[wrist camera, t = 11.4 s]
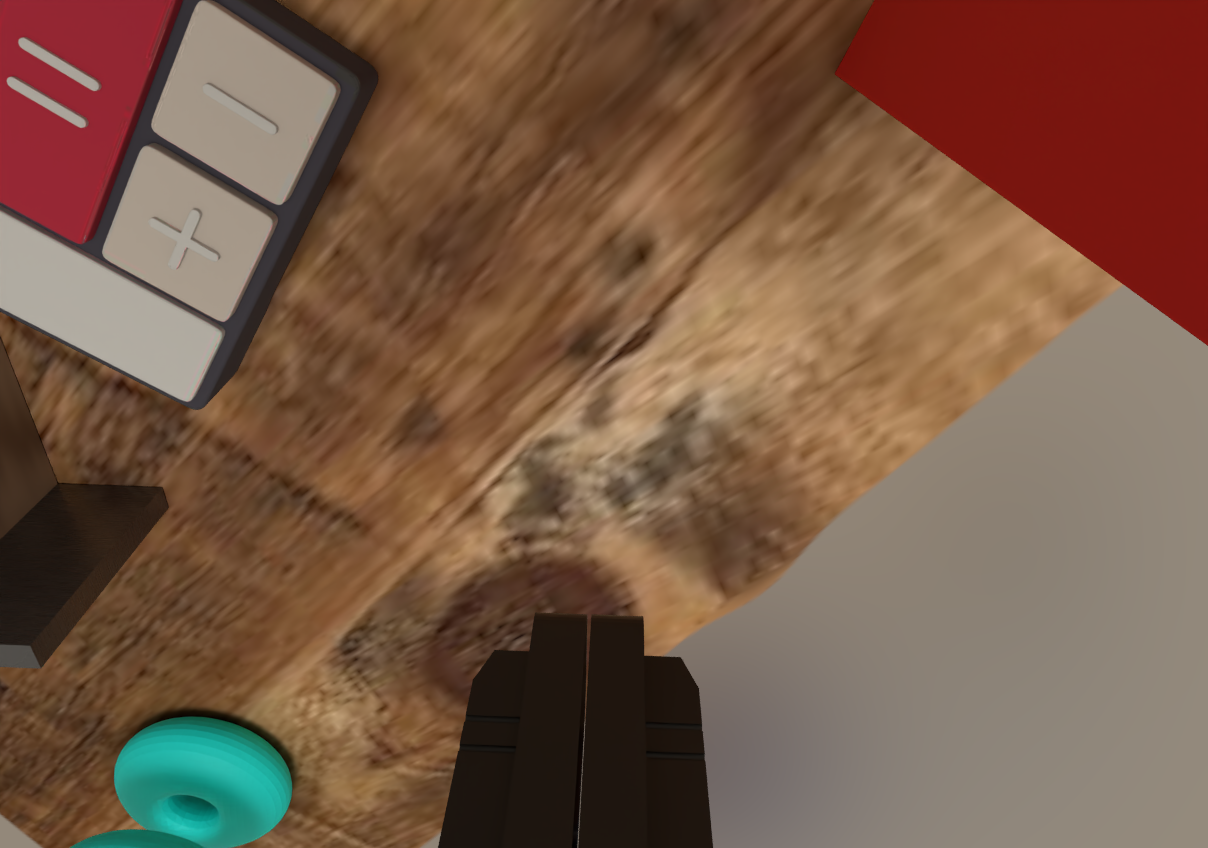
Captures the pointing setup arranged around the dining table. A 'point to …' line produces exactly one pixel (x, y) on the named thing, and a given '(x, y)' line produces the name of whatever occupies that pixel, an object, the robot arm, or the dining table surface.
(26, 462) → the mottled stone block
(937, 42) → the book
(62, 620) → the bookend
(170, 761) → the donuts
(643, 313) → the dining table surface
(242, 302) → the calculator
